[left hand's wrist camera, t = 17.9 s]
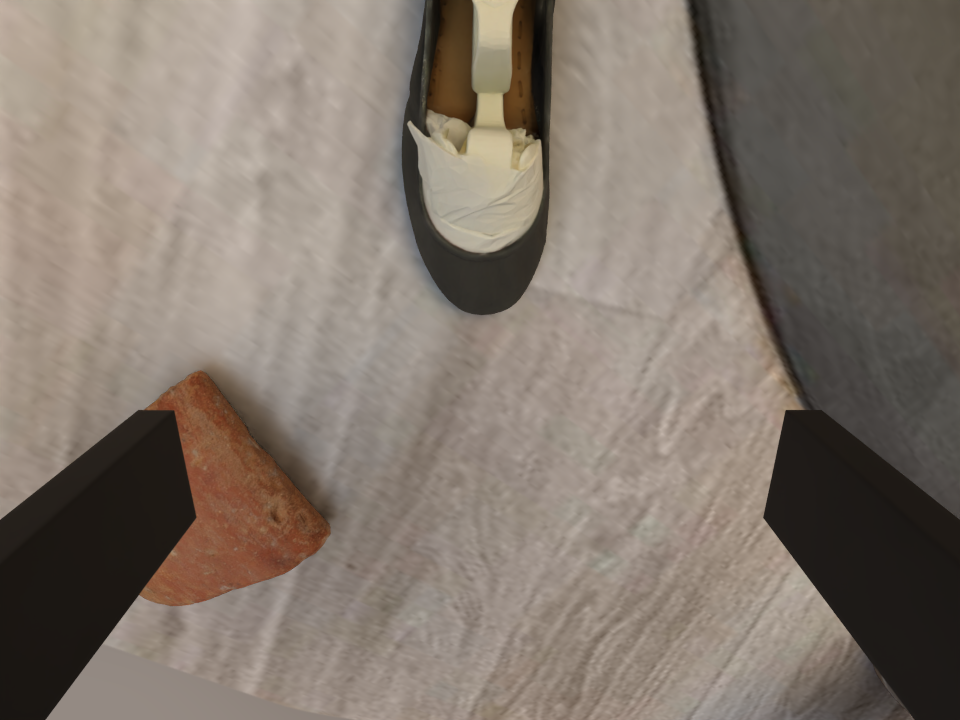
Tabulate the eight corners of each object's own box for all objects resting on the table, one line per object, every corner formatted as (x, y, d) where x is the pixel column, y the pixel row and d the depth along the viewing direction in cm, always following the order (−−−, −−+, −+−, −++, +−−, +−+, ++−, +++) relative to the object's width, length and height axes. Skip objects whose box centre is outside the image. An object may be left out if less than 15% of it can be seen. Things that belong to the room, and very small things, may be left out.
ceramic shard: (-18, 497, 35) (190, 372, 35) (53, 460, 42) (229, 355, 41) (130, 677, 38) (325, 564, 37) (176, 616, 44) (342, 519, 44)
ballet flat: (414, 308, 37) (396, 353, 29) (390, -169, 28) (357, -284, 21) (543, 307, 37) (559, 352, 29) (558, -171, 28) (588, -287, 20)
